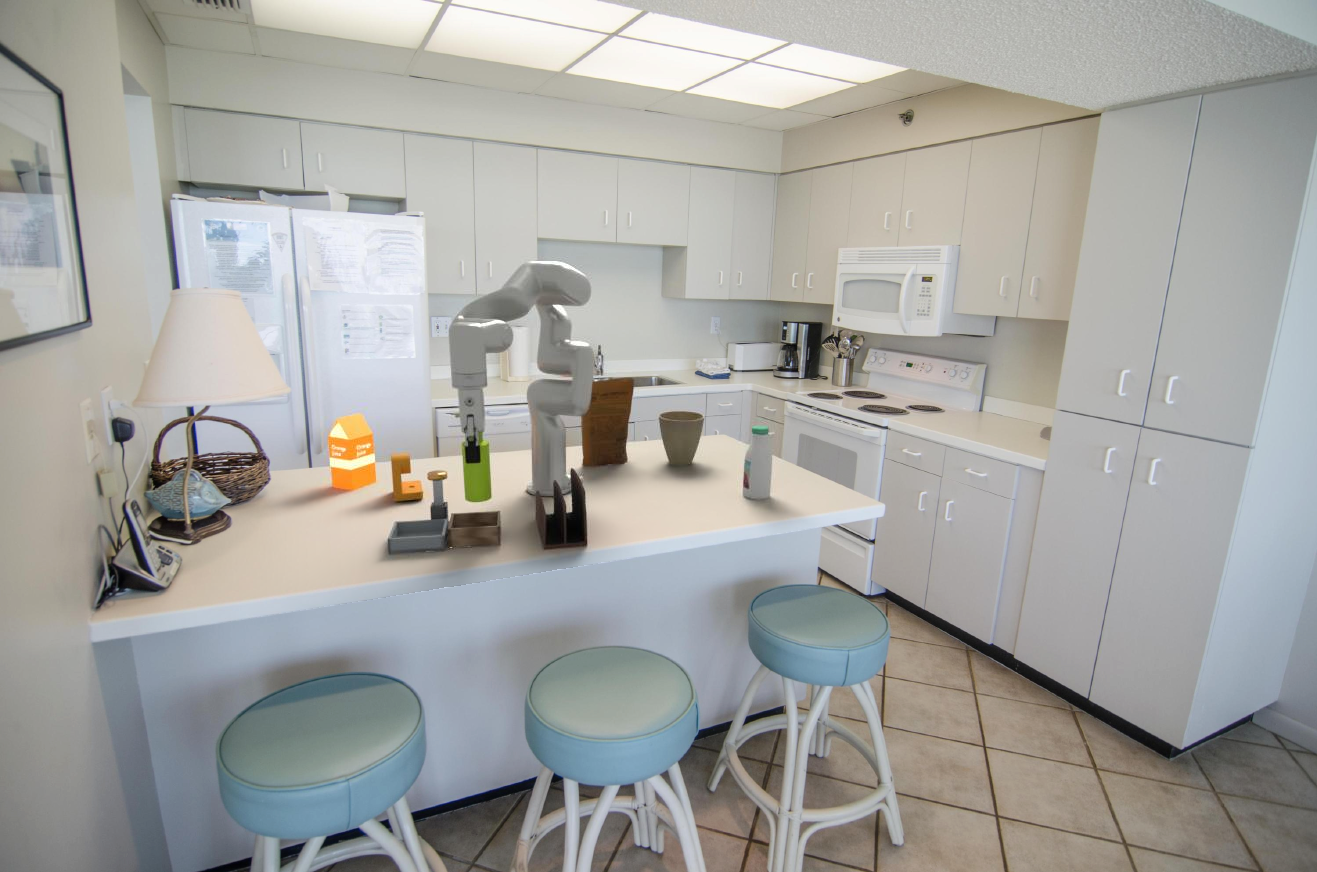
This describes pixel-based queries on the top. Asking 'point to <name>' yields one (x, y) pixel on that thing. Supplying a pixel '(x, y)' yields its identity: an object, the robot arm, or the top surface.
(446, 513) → the plunger collar
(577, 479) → the letter holder
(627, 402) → the pancake mix bag
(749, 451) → the milk bottle
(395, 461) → the bracket
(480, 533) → the wooden box
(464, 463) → the soap dispenser
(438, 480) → the plunger
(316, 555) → the top surface
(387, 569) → the top surface
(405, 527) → the tray
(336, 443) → the orange juice
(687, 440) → the plant pot
